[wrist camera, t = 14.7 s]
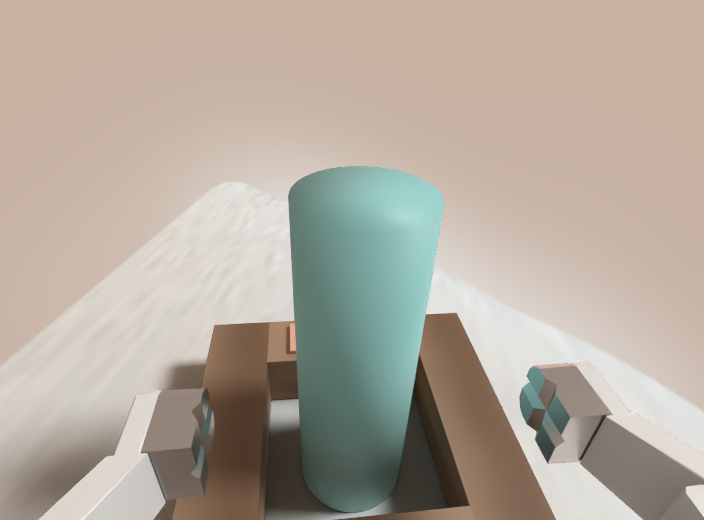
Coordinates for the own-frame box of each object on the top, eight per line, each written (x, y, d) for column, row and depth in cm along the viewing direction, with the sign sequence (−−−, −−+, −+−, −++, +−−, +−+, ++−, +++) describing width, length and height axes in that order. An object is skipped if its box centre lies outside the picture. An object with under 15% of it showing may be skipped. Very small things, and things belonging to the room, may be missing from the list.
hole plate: (163, 679, 12) (141, 646, 11) (221, 362, 22) (213, 321, 21) (563, 623, 14) (592, 588, 12) (448, 348, 24) (457, 309, 22)
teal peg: (302, 517, 16) (287, 235, 9) (301, 423, 19) (289, 166, 13) (409, 506, 16) (465, 231, 10) (389, 417, 20) (422, 165, 13)
